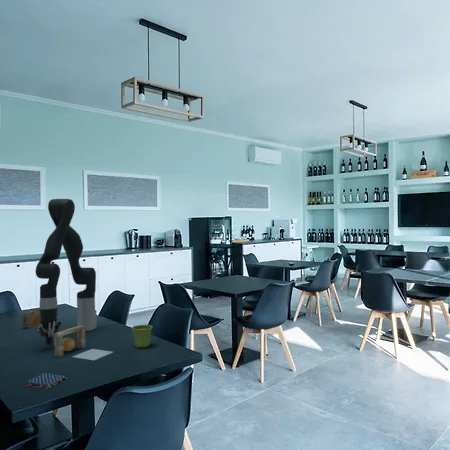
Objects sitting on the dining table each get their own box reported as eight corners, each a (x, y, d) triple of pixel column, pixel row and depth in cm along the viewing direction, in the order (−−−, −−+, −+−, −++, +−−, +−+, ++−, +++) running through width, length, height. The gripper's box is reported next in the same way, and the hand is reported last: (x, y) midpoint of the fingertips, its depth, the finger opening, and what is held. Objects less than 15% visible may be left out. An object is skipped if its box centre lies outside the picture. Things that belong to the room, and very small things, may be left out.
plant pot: (145, 341, 199) (145, 323, 199) (156, 345, 192) (156, 326, 192) (128, 346, 192) (127, 327, 192) (139, 350, 186) (139, 330, 186)
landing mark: (92, 349, 188) (92, 348, 188) (113, 352, 183) (113, 351, 183) (72, 357, 177) (72, 356, 177) (94, 360, 172) (94, 360, 172)
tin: (26, 329, 227) (25, 313, 227) (20, 329, 228) (20, 313, 228) (43, 323, 242) (43, 308, 242) (38, 322, 243) (38, 308, 243)
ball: (79, 347, 187) (70, 351, 189) (75, 334, 188) (66, 338, 190) (69, 350, 181) (59, 354, 184) (65, 337, 183) (56, 341, 185)
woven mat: (23, 387, 146) (23, 381, 146) (46, 377, 156) (46, 371, 156) (46, 391, 142) (46, 385, 142) (68, 380, 152) (68, 374, 152)
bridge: (54, 355, 179) (54, 333, 179) (80, 346, 193) (80, 325, 193) (59, 356, 178) (59, 333, 178) (85, 347, 192) (85, 325, 192)
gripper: (42, 310, 183) (43, 349, 183) (65, 304, 195) (66, 341, 195) (30, 309, 187) (31, 347, 187) (54, 303, 199) (54, 340, 199)
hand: (49, 344), depth 191 cm, fingers closed
